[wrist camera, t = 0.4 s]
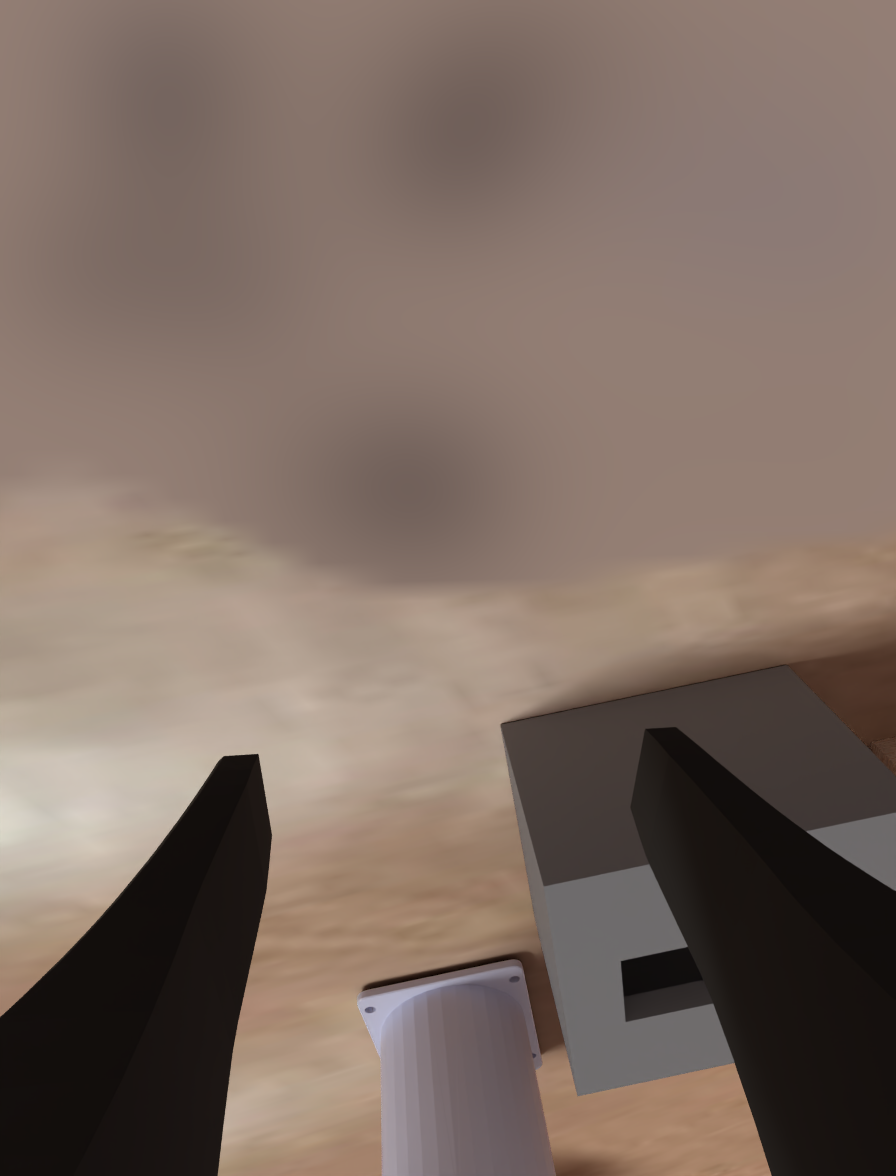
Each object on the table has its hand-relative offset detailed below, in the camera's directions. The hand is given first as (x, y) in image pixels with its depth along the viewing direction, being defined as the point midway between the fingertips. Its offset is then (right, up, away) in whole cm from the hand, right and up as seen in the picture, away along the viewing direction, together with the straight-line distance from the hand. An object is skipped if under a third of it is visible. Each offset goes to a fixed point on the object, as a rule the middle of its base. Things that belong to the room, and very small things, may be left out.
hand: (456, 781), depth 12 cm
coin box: (+8, -6, +15) cm, 18 cm away
